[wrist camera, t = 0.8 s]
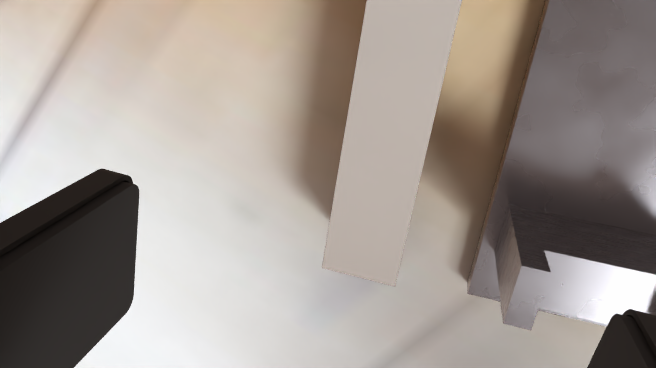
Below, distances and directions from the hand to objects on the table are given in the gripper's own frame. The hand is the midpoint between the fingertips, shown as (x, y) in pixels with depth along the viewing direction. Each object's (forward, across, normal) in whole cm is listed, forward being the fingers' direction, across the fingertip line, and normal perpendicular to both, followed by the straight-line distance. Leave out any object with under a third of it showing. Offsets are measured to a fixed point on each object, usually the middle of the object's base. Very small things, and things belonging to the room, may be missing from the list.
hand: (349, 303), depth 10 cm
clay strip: (+21, +1, -2) cm, 21 cm away
